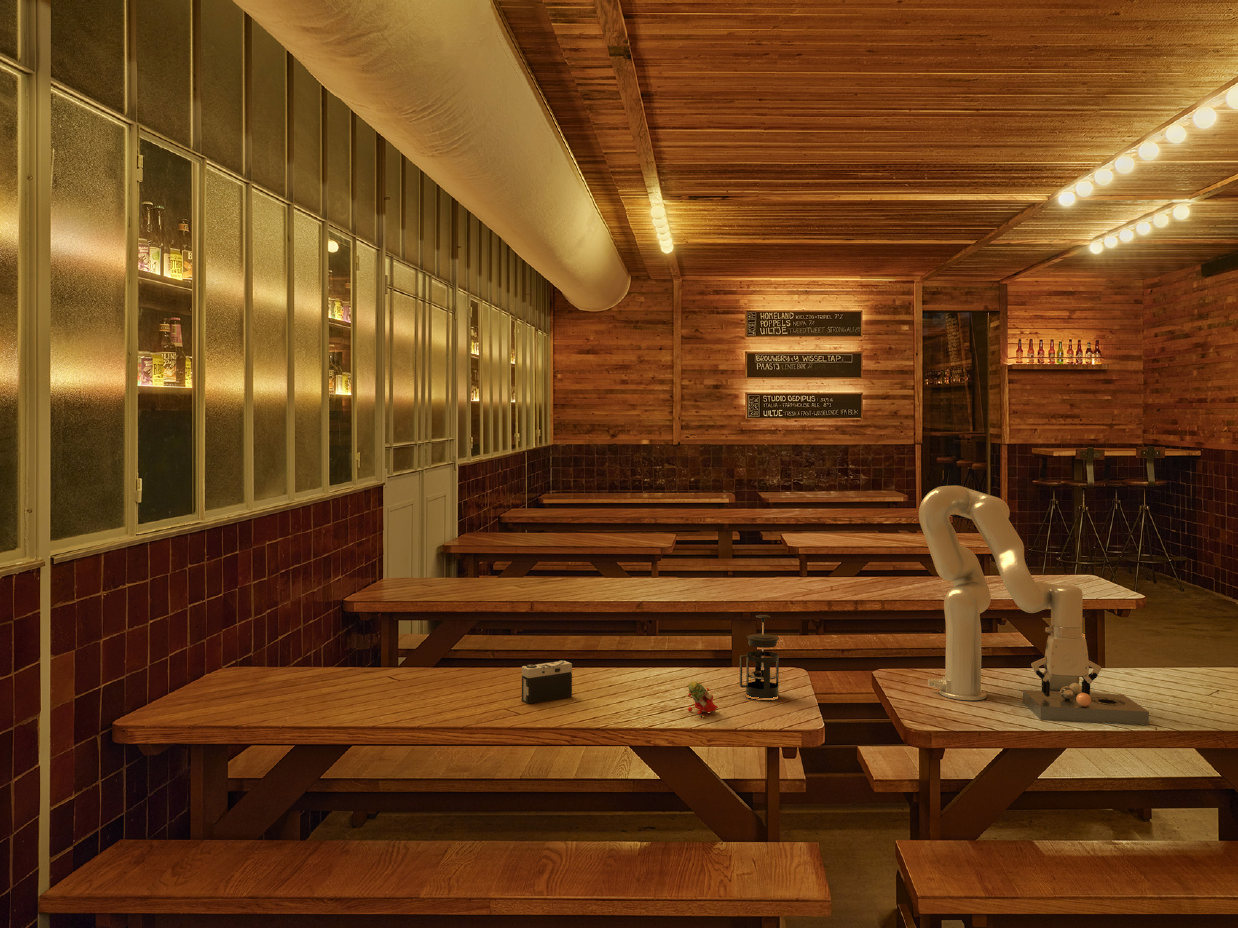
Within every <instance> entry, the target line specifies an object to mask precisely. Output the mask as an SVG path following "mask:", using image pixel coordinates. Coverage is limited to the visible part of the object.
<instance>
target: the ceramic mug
mask: <svg viewBox="0 0 1238 928" xmlns="http://www.w3.org/2000/svg"><path fill="white" fill-rule="evenodd" d="M1048 681H1049V682H1050V691H1059V692H1060V690H1061V688H1062V687H1065V686H1070V685H1071V684H1072V683H1077V684H1079V685H1080V677H1071V676H1055V675H1052V676H1051V677H1050V678H1049V679H1048Z"/></svg>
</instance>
